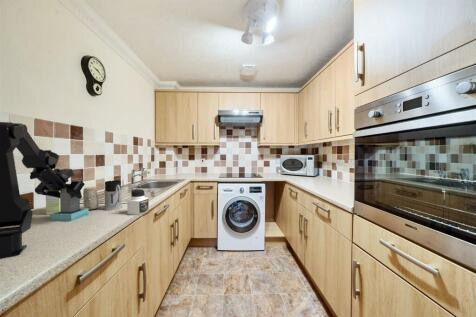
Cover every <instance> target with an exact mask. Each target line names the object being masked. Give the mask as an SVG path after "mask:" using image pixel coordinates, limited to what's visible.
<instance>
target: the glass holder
mask: <svg viewBox="0 0 476 317" xmlns="http://www.w3.org/2000/svg"><path fill="white" fill-rule="evenodd" d="M121 181H122V180H115V179H114V180H108V181H104V208H103V210H104V211H116V210H120V209H122V208H123V206H122V183H121Z"/></svg>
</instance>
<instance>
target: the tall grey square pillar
mask: <svg viewBox="0 0 476 317" xmlns="http://www.w3.org/2000/svg"><path fill="white" fill-rule="evenodd" d="M80 209H81V199H79V198H76V197H73V196H70V195H69V194H68V193H67V192H66V189H61V190H60V214H73V213H75V212H78V211H80Z"/></svg>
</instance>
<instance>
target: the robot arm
mask: <svg viewBox="0 0 476 317" xmlns="http://www.w3.org/2000/svg"><path fill="white" fill-rule="evenodd" d="M15 149H17V150H18V152H19V153H20V154H21V155H22V158H21V163H22V165H23V166H24V167H25V168H26V169H32V170H31V171H30V172H29V174H30V176H29V179H30V180H34V179H37V180H38V181H39V184H38V185H37V186H36V187H34V193H36V194H37V195H41V196H45V197H46V196H51V197H56V198H60V192H59V191H60V190H61V189H66V192H67V193H68V194H69V195H70V196H73V197H76V198H79V199H80V200H82V198H83V194H82V191H81V190H82V189H84V188H83V187H84V186H85V185H86V184H85V183H84V182H83V181H82V180H72V181H71V182H70V183H68V182H69V179H70V178H72V177H74V176H75V174H74V171H73V169H72V168H63V169H60V168H56V167H57V165H58V162H59V159H60V155H59V154H58V153H56V152H53V151H52V149H51V150H50V149H45V150H44V149H42V148H39V146H38V144H37V143H36V142H35V140H34V139H33V138H32V136H31V135H30V133H29V131H28V126H27V125H26V124H23V123H18V122H17V123H16V122H15V123H14V122H9V121H0V259H3V258H8V257H13V256H18V255H21V253H23V251H24V250H25V249H26V248H27V247H28V245H27V244H23V234H24V233H26V232H27V231H29V230H31V227H32V221H33V211H32V207H31V204H30V203H31V202H30V200H29V199H28V198H23V197H21V193H20V188H19V182H18V176H17V175H18V174H17V170H16V162H15V155H14V151H15Z"/></svg>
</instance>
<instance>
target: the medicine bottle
mask: <svg viewBox="0 0 476 317" xmlns="http://www.w3.org/2000/svg"><path fill="white" fill-rule="evenodd" d="M145 194H146V191H145V189H143V188H135V189H132V190H131V194H130V195H131V198H130V199H127V202H126V204H127V205H126V206H127V208H126V210H127V215H135V216H140V215H143V214H145V213H147V212H149V211H150V210H149V208H150V207H149V197H145Z"/></svg>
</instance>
